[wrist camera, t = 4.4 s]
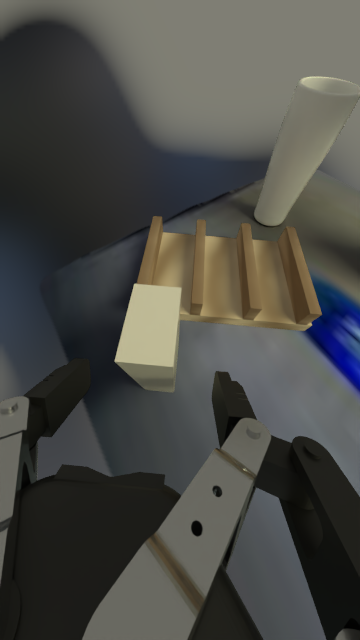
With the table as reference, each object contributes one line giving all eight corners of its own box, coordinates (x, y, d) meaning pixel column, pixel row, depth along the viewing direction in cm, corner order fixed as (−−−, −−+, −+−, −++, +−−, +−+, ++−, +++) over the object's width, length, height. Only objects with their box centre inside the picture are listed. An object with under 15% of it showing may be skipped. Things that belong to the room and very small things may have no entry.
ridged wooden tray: (283, 250, 29) (299, 227, 26) (303, 330, 23) (327, 314, 19) (152, 239, 30) (149, 215, 26) (134, 315, 23) (127, 297, 20)
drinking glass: (256, 202, 35) (306, 72, 22) (291, 215, 34) (368, 83, 20) (242, 221, 32) (290, 85, 19) (280, 236, 31) (359, 99, 18)
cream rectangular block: (178, 346, 21) (181, 287, 12) (173, 392, 19) (173, 366, 9) (152, 344, 21) (134, 283, 12) (145, 389, 19) (114, 361, 9)
